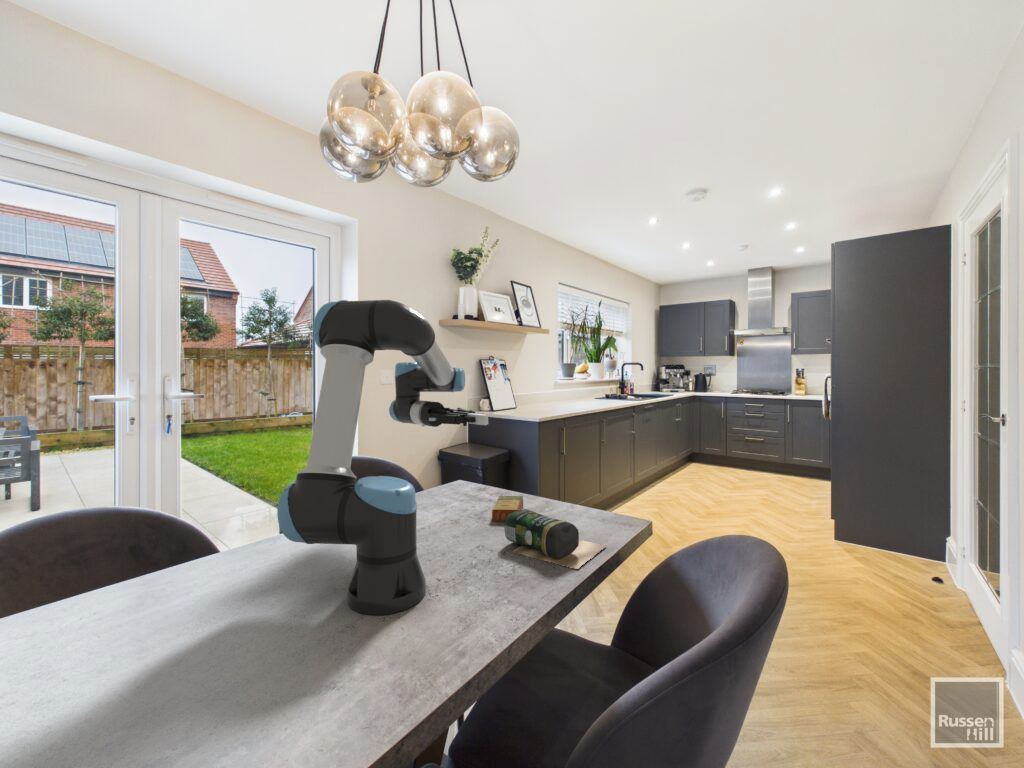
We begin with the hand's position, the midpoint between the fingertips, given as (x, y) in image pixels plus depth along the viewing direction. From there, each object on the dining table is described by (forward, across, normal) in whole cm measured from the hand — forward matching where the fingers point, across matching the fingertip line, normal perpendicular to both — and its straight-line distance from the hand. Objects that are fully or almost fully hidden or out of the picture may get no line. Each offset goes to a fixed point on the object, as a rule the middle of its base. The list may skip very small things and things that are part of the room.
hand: (486, 420), depth 122 cm
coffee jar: (+9, +1, -27) cm, 29 cm away
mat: (+22, 0, -32) cm, 39 cm away
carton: (-6, -15, -34) cm, 38 cm away
